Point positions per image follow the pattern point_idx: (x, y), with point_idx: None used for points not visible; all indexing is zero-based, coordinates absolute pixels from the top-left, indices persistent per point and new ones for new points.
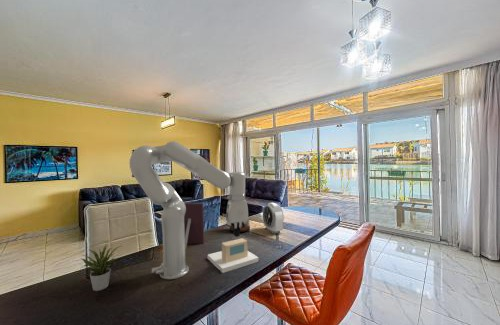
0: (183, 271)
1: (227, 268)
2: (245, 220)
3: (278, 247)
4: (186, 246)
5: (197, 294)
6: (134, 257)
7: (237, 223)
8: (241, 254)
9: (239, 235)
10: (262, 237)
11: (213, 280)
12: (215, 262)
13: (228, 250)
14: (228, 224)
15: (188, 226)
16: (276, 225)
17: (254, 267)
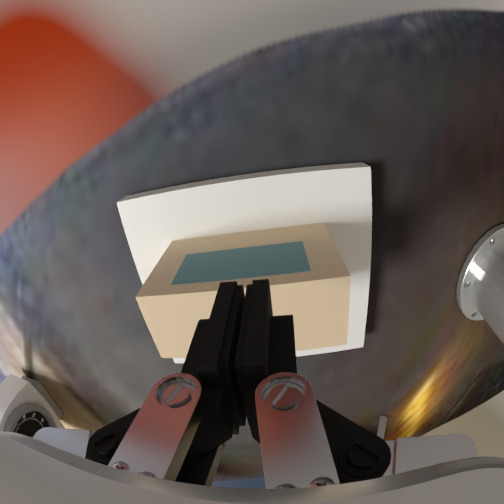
0: (489, 249)
1: (337, 167)
2: (12, 444)
3: (25, 287)
4: (379, 422)
5: (486, 73)
6: (492, 387)
7: (206, 468)
8: (210, 246)
9: (221, 284)
10: (74, 385)
11: (421, 122)
12: (370, 258)
13: (321, 257)
14: (450, 441)
15: None
16: (14, 394)
17: (171, 139)
